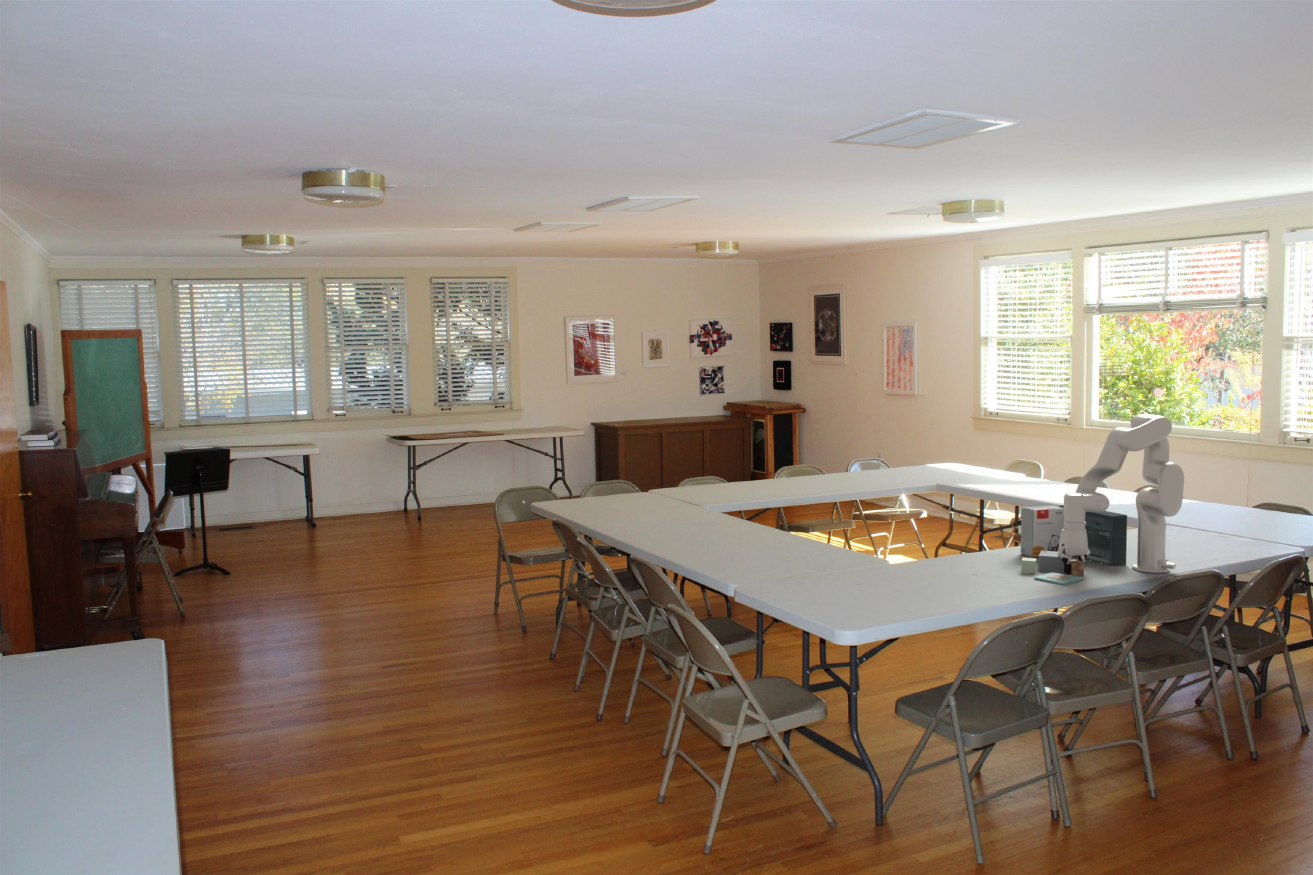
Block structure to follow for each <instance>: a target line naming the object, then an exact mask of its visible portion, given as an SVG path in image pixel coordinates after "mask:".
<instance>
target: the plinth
mask: <svg viewBox="0 0 1313 875" xmlns="http://www.w3.org/2000/svg"><path fill="white" fill-rule="evenodd" d="M1057 554H1058V552H1056V551H1042V550H1041V552H1040V554H1039V557H1038V571H1043V572H1054V573H1063V566H1064V563H1063V562H1062V560H1061V559H1060V558H1059V557H1058V556H1057ZM1063 556H1064V554H1063ZM1067 558H1068V557H1067Z"/></svg>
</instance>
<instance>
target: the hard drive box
mask: <svg viewBox="0 0 1313 875" xmlns="http://www.w3.org/2000/svg"><path fill="white" fill-rule="evenodd" d="M1020 514H1021V523H1020V524H1021V526H1020V527H1021V528H1020V554H1021V555H1024V556H1027V557H1029V558H1039V554H1040V552H1041V550H1042V551H1056V552H1059V540H1060V534H1061V530H1062V529H1063V523H1064V508H1061V507H1059V506H1056V505H1041V506H1040V505H1039V506H1022V507H1021V512H1020Z"/></svg>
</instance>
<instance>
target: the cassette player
mask: <svg viewBox="0 0 1313 875" xmlns="http://www.w3.org/2000/svg"><path fill="white" fill-rule="evenodd" d="M1058 507H1061V508H1064V504H1063V505H1062V504H1061V505H1060V504H1059V506H1058ZM1085 522H1086V523H1087V524H1086V525H1085V529H1086V532H1087V539H1088V549H1089V550H1090V554H1089V555H1088V556H1087V558H1086V559H1085V561H1089V560H1091V561H1090V562H1094V563H1097V564H1100V563H1102V564H1101V565H1104V564H1105V566H1109V567H1111V566H1113V567H1119V566H1120V567H1122V566H1126V565H1127V546H1128V545H1127V540H1128V537H1127V535H1128V531H1127V530H1128V515H1127V514H1123V513H1118V512H1114V511H1107V510H1105V511H1104V512H1101V513H1093V512H1085ZM1075 557H1076V558H1077V556H1075Z"/></svg>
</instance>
